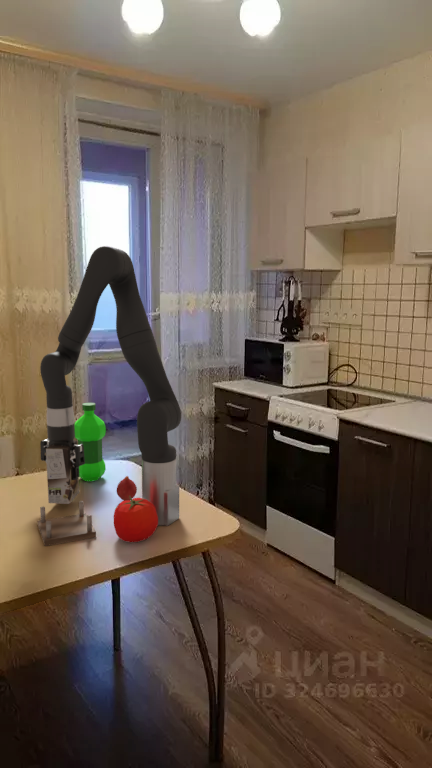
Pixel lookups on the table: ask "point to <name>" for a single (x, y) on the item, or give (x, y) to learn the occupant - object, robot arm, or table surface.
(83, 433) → the plastic bottle
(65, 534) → the pin holder
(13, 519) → the table surface
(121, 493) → the onion
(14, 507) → the table surface
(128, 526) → the tomato
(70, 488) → the coffee box
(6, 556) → the table surface
